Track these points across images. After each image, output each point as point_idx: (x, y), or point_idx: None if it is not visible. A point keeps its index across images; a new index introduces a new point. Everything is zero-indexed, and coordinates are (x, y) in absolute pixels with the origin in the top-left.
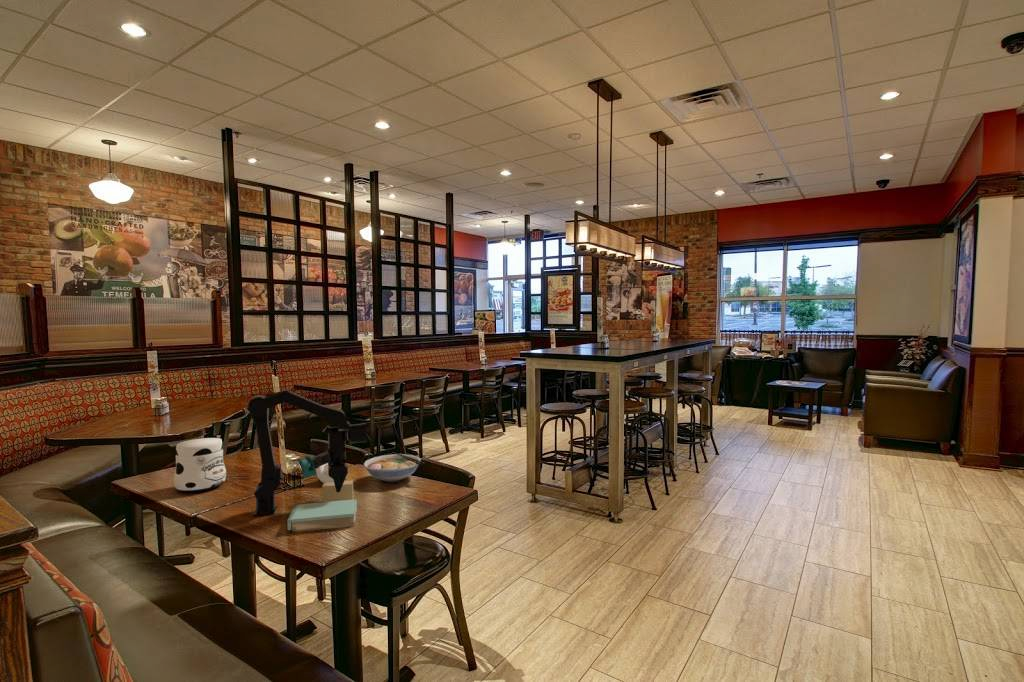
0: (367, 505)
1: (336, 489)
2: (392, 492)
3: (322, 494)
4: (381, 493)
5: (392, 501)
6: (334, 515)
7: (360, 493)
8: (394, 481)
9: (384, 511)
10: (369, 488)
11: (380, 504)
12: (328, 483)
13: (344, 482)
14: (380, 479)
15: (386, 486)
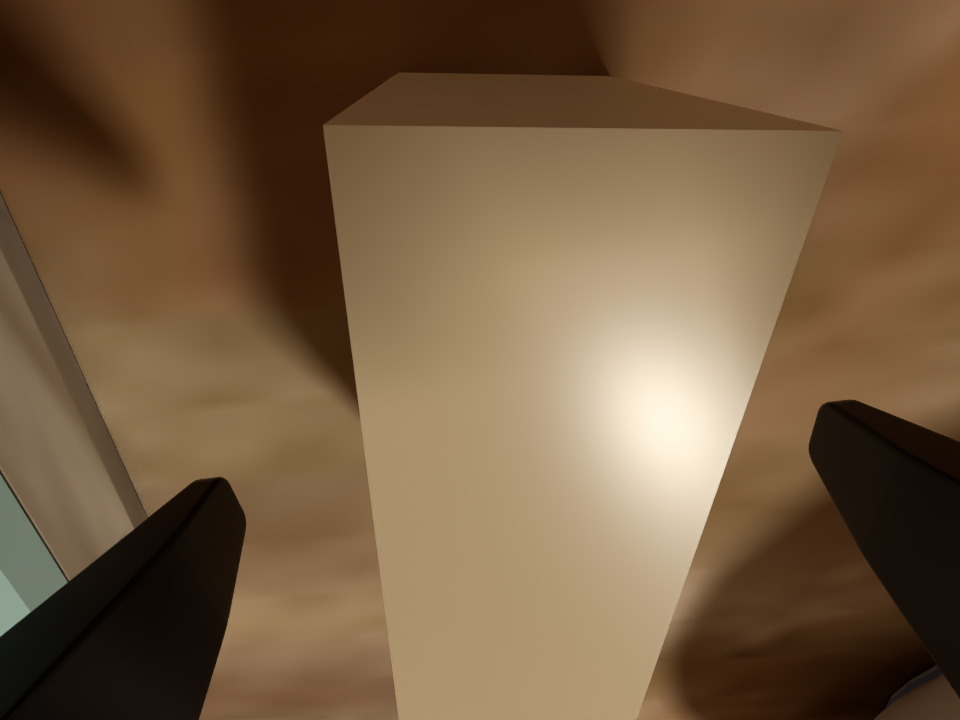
0: (318, 589)
1: (134, 541)
2: None
3: (366, 95)
4: None
5: (388, 714)
6: None
7: (736, 512)
8: (888, 704)
9: None
10: (850, 568)
11: (329, 662)
12: (652, 328)
13: (561, 652)
14: (935, 687)
15: (807, 666)
